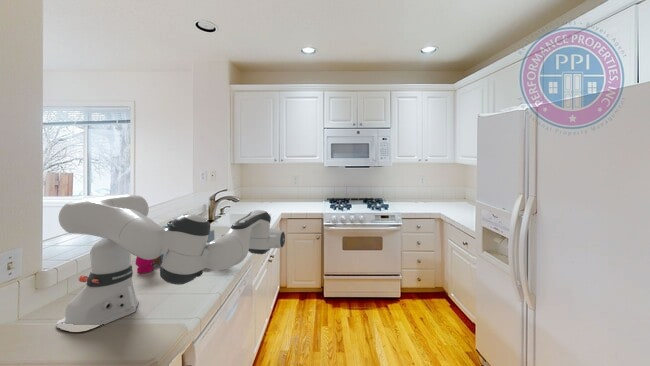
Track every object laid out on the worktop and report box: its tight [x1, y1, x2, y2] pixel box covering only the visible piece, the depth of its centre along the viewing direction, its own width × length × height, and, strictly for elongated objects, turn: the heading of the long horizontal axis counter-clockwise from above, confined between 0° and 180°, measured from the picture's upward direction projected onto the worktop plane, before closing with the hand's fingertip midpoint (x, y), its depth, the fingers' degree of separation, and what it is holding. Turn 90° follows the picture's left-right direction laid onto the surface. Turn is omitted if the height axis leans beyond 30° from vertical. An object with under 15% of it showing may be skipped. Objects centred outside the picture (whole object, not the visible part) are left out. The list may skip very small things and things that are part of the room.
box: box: [207, 229, 216, 243], centre depth 153 cm, size 4×4×16 cm
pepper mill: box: [135, 256, 154, 274], centre depth 142 cm, size 7×7×20 cm
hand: (228, 234), depth 148 cm, fingers open, 8 cm apart
